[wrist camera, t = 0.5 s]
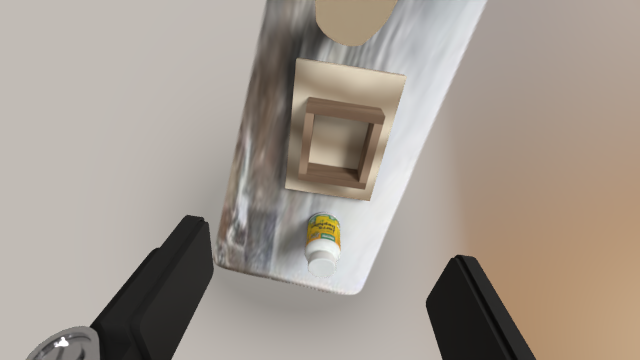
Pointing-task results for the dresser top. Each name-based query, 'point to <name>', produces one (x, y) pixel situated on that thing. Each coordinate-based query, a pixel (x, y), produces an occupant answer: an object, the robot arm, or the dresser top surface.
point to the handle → (352, 19)
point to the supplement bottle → (323, 244)
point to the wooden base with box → (340, 127)
